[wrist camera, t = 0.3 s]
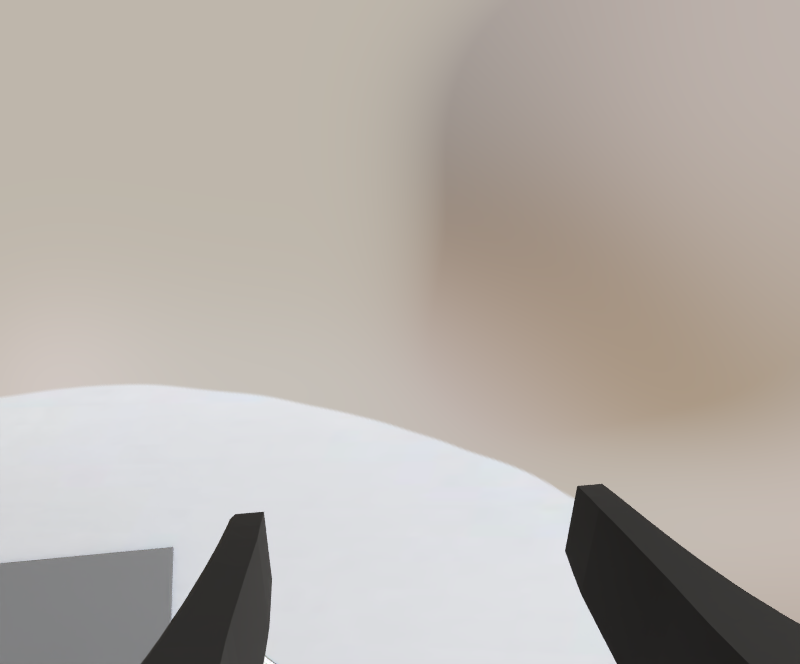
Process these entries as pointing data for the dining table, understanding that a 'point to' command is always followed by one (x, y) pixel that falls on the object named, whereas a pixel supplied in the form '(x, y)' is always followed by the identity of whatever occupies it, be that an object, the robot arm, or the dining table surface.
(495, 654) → the dining table surface
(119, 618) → the mat
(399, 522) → the dining table surface
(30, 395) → the dining table surface
